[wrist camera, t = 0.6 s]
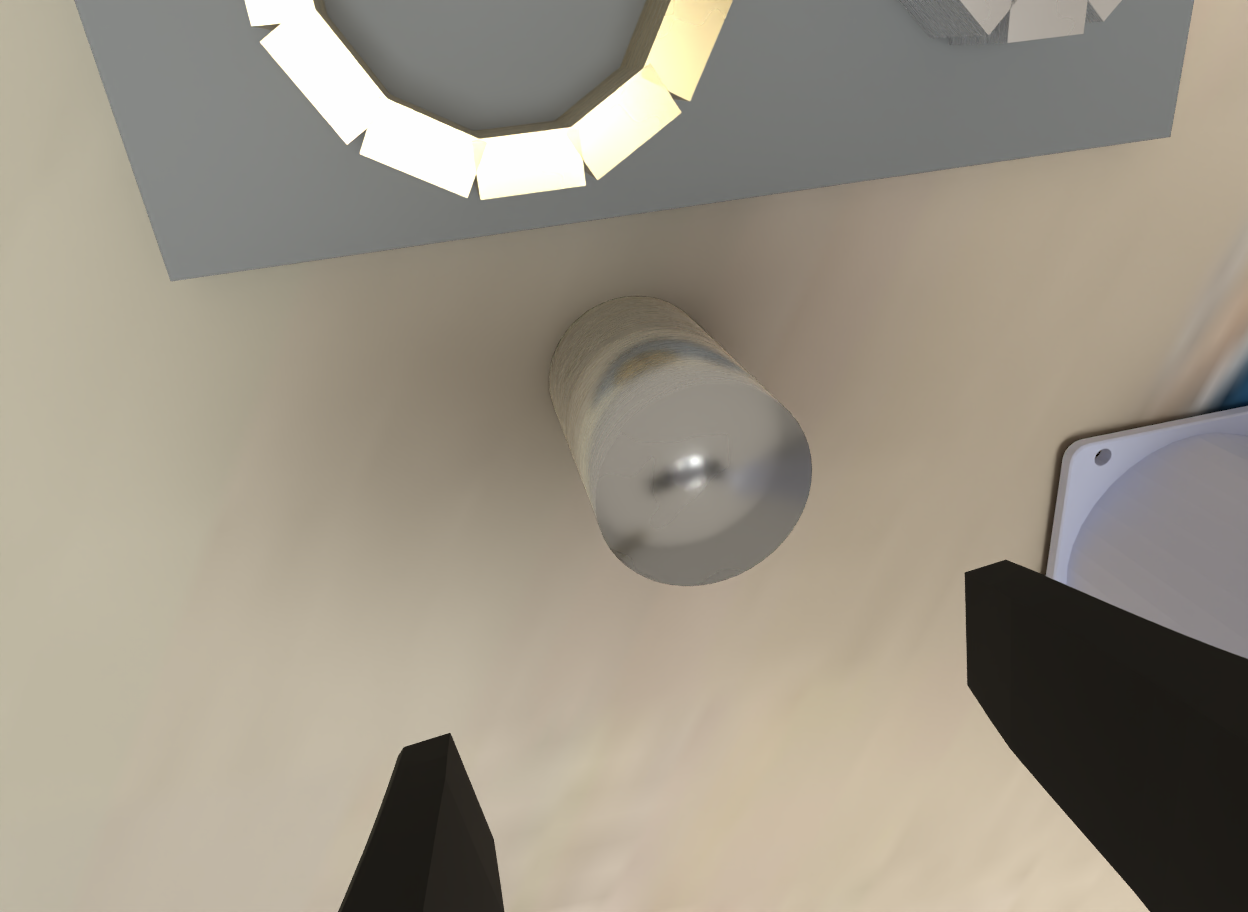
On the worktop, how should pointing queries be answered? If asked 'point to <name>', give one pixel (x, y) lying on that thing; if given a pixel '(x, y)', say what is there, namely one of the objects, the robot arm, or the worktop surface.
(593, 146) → the wide socket
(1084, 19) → the narrow socket
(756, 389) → the metal cylinder peg
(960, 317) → the worktop surface
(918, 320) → the worktop surface
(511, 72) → the fitting board
